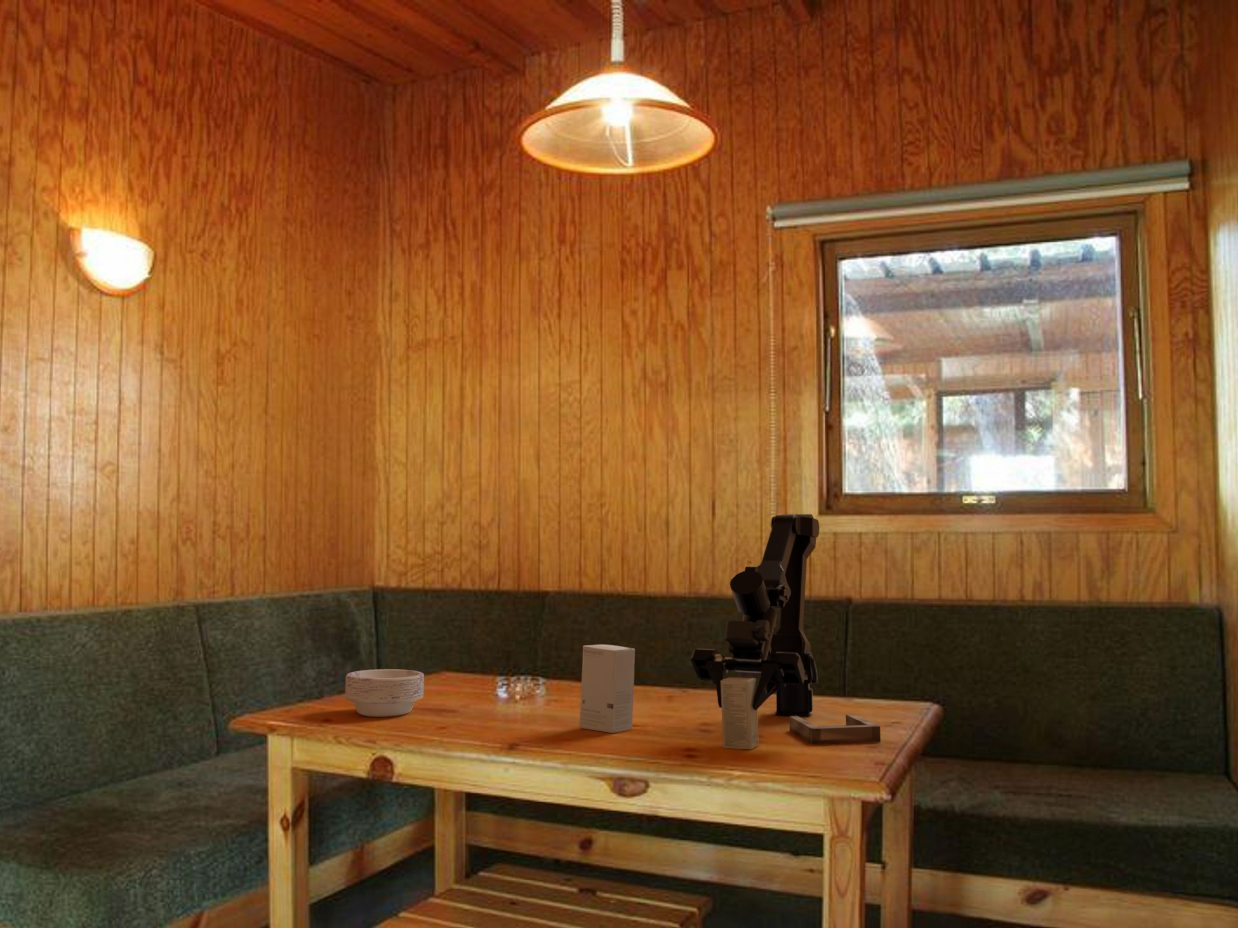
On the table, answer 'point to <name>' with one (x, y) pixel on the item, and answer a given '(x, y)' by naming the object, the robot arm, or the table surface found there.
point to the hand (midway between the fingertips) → (737, 707)
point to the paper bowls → (384, 691)
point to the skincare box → (607, 688)
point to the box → (739, 713)
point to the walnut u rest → (836, 731)
